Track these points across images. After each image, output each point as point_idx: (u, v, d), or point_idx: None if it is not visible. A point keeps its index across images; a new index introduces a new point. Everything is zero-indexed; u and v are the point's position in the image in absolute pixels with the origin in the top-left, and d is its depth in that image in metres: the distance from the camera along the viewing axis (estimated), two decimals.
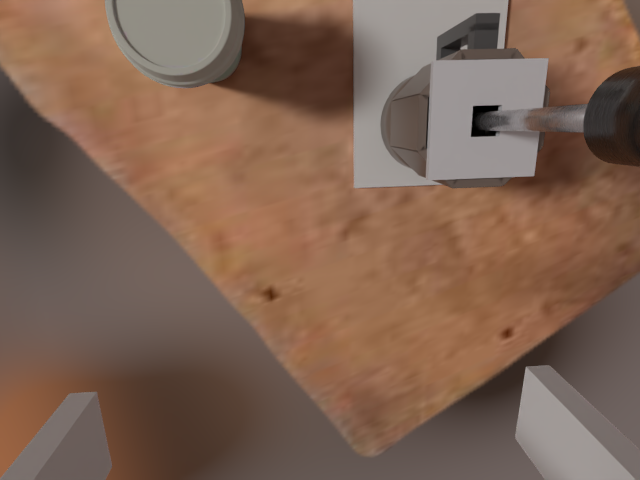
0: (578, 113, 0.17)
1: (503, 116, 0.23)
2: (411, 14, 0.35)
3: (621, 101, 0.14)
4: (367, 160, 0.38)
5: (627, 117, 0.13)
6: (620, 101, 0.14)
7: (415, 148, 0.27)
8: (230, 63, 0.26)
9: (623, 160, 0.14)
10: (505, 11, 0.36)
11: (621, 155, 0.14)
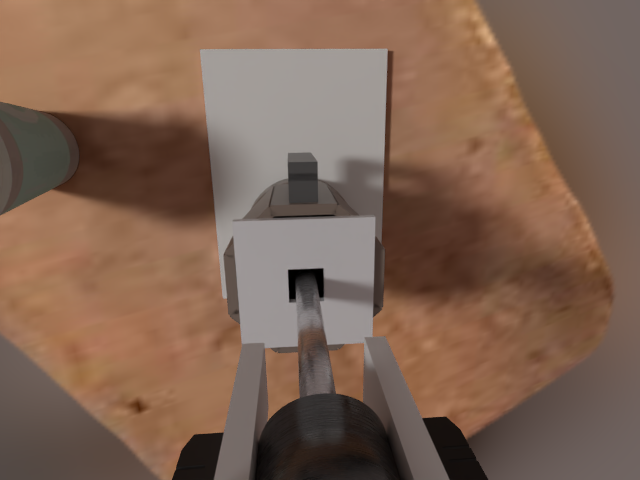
0: (301, 394, 0.13)
1: (297, 307, 0.19)
2: (274, 115, 0.31)
3: None
4: None
5: None
6: None
7: None
8: None
9: None
10: (383, 111, 0.31)
11: None
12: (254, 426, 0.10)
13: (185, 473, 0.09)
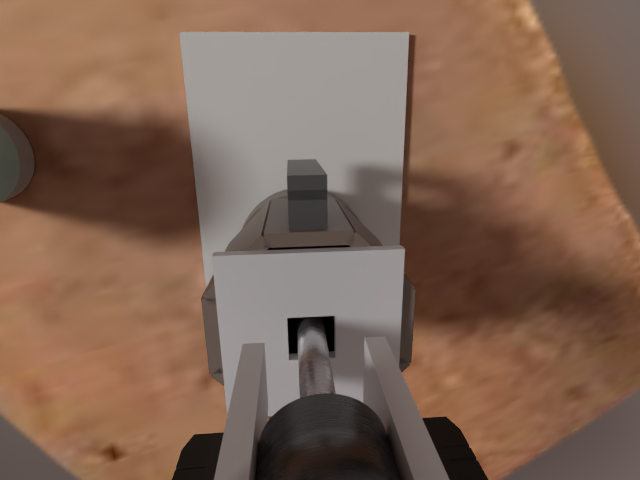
0: (301, 394, 0.13)
1: None
2: (270, 113, 0.25)
3: None
4: None
5: None
6: None
7: None
8: None
9: None
10: (403, 108, 0.26)
11: None
12: (254, 426, 0.10)
13: (185, 473, 0.09)
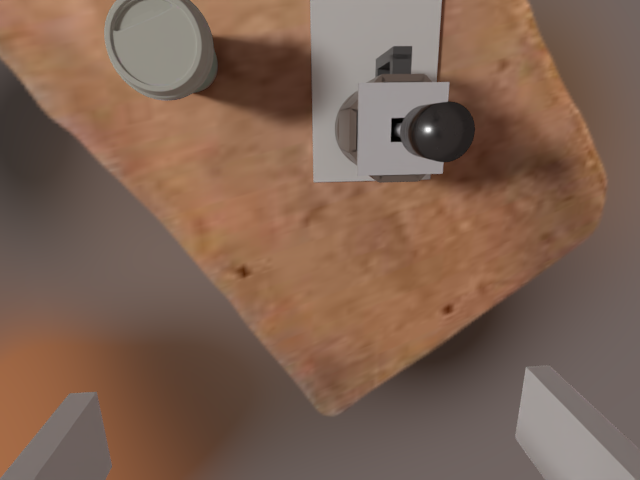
0: None
1: None
2: (359, 38, 0.42)
3: (408, 124, 0.26)
4: (324, 158, 0.46)
5: (408, 132, 0.26)
6: (407, 124, 0.26)
7: (348, 150, 0.35)
8: (202, 81, 0.34)
9: (415, 154, 0.27)
10: (437, 36, 0.43)
11: (413, 152, 0.27)
12: None
13: None
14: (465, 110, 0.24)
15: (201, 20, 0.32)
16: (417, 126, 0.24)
